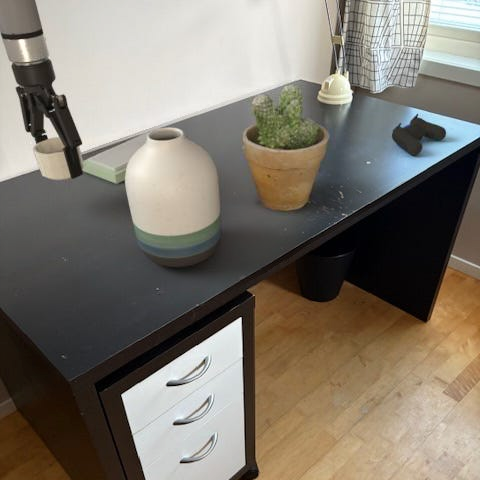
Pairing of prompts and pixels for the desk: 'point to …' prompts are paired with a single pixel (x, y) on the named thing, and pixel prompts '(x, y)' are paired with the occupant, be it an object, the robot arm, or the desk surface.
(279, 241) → the desk surface
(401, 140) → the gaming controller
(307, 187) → the potted plant
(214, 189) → the vase
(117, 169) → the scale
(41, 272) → the desk surface
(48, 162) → the beige cup
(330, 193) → the desk surface
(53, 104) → the robot arm
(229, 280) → the desk surface
